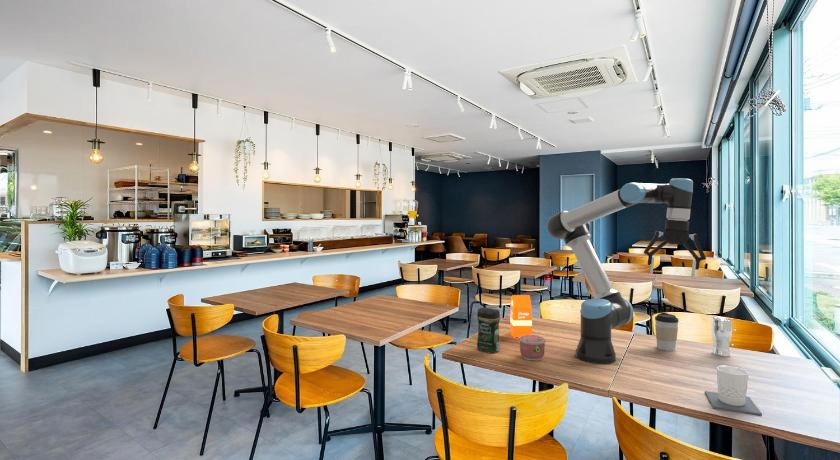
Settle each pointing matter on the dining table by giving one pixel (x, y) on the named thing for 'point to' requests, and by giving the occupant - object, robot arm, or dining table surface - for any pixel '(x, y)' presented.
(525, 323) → the orange juice
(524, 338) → the container
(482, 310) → the coffee jar
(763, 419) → the dining table surface
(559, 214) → the robot arm
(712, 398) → the rubber mat
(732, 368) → the white cup
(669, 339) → the coffee cup
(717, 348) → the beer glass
